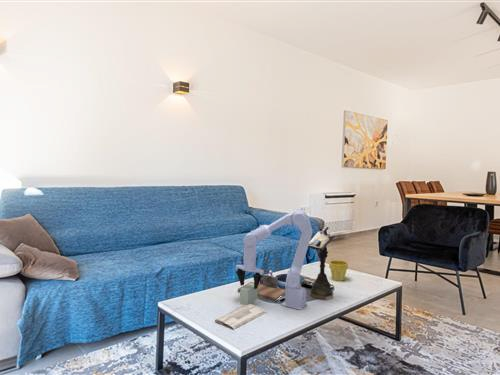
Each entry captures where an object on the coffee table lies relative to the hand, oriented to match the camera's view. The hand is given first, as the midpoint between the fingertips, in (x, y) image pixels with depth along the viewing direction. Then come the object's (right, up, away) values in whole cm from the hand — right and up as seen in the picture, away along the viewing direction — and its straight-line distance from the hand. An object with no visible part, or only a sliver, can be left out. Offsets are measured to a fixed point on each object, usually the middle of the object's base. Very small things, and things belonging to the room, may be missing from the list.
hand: (249, 286), depth 170 cm
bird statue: (+35, -7, +7) cm, 36 cm away
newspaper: (-4, -9, -17) cm, 19 cm away
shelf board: (+7, -6, +12) cm, 15 cm away
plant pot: (+51, -6, +35) cm, 62 cm away
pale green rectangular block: (0, -7, 0) cm, 7 cm away
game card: (+8, -5, +27) cm, 29 cm away
